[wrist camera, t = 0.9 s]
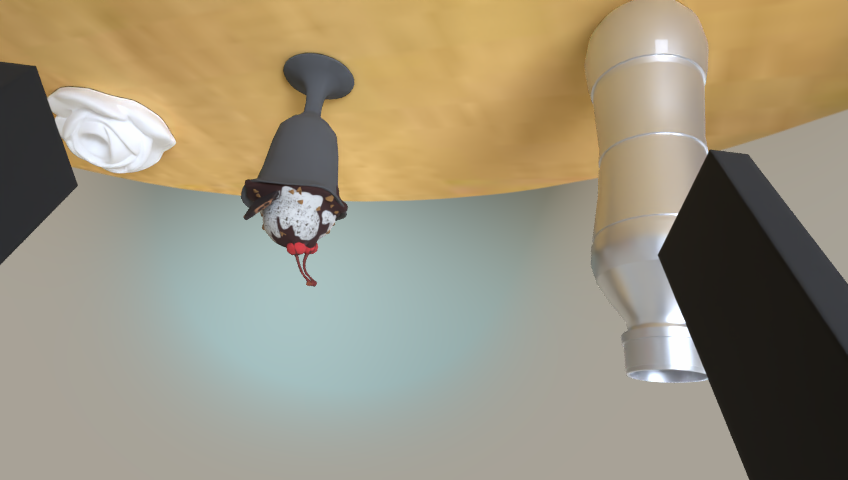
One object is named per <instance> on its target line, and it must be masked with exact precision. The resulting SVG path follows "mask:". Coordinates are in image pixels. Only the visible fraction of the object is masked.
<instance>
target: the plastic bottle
mask: <svg viewBox="0 0 848 480" xmlns="http://www.w3.org/2000/svg"><path fill="white" fill-rule="evenodd" d="M707 71H708V41H707V38H706V36H705V33H704V31H703V28H702V25H701V23H700V21H699V19H698V16H697V15H696V14H695V13H694V12H693V11H692V10H690V9H689V8H687V7H686V6H684V5H682V4H681V3H679V2H677V1H675V0H633V1H630V2H627V3H625V4H623V5H621V6H619V7H617V8H616V9H614V10H613V11H611V12H610V13H609V14H608V15H607V16H606V17H605V18H604V19H603V20H602V21H601V22H600V24H599V25H598V26H597V27H596V29H595V30H594V31H593V33H592V35H591V37H590V39H589V43H588V48H587V54H586V59H585V75H586V80H587V86H588V91H589V94H590V97H591V101H592V103H593V107H594V114H595V122H596V129H597V137H598V145H599V176H598V200H597V208H596V217H595V225H594V232H593V245H592V249H591V268H592V270H593V274H594V277H595V280H596V283H597V285H598V286H599V288H600V289H601V291H602V292H603V293H604V295H605V297H606V298H607V299H608V301H609V302H610V303H611V305H612V306H613V307H614V309H615V310H616V311H617V312H618V313H619V315H620V316H621V317H622V318H623V319H624V321H625V322H626V325H627V329H628V331H627V332H624V333H623V334H622V335H621V337H622V346H623V347H624V353H625V371H626V375H627V376H628V377H630V378H633V379H638V380H644V381H653V382H695V381H696V382H697V381H704V380H708V377H707V375H706V372H705V370H704V368H703V365H702V363H701V360H700V358H699V355H698V353H697V350H696V348H695V346H694V343H693V341H692V338H691V336H690V333H689V331H688V328H687V326H686V324H685V321H684V319H683V316H682V314H681V311H680V309H679V306H678V304H677V301H676V299H675V297H674V294H673V292H672V289H671V287H670V284H669V282H668V279H667V277H666V275H665V272H664V270H663V267H662V265H661V262H660V260H659V257H658V253H659V251H660V249H661V247H662V245H663V243H664V241H665V239H666V237H667V235H668V233H669V231H670V229H671V227H672V225H673V223H674V221H675V219H676V217H677V215H678V213H679V211H680V209H681V207H682V205H683V203H684V201H685V199H686V197H687V195H688V193H689V191H690V189H691V186H692V184H693V182H694V180H695V178H696V176H697V174H698V172H699V170H700V168H701V166H702V164H703V162H704V160H705V158H706V156H707V154H708V148H707V143H706V137H705V83H706V78H707Z"/></svg>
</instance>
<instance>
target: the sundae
mask: <svg viewBox="0 0 848 480" xmlns="http://www.w3.org/2000/svg"><path fill="white" fill-rule="evenodd" d="M283 71H284V75H285V77H286V79H287V81H288V82H289V83H290V85H291V86H292V87H293V88H294V89H296V90H298V91H299V92H301V93H303V94H305V95H306V104H305V109H304V112H303V113H301V114H299V115H294V116H292V117H291V118H289V119H287V120H285V121H284V122H282V123H281V124H280V126H279V128H278V130H277V132H276V134H275V136H274V138H273V140H272V143H271V146H270V148H269V151H268V154H267V157H266V159H265V162H264V165H263V167H262V169H261V171H260V173H259V176H258V178H257V179H252V180H249V179H248V180H246V181H245V185H244V187H243V189H242V192H241V199H242V201H243V203H244V204H245V205H246V206H247V207H249V209H248V211H247V212H246V214H245V215H244V219H245V220H248V219H249V218H251V217H253V216H254V215H255V214H256V213H258V212H260V213H261V216H262V217H263V226H262V229H263V230H265V231H266V233H267V234H268V235H269V236H270V238H271V239H272V240H273V241H274V242H276V243H277V244H279V245H281V246H283V247H286V248H287V251H288V252H289V253H290V254H291V255H295V257H296V260H297V264H298V267H299V269H300V272H301V274H302V275H303V277H304V278H305V279H306V281H307V283H306V285H308V286H316V284H317V282H316V281H314V280H313V279H312V278H311V277H310V276H309V274H308V273H307V272H306V268H305V263H306V259H307V257H308V255H309V254H313V253H315V252H316V251H317V249H318V245H317V240H318V239H319V238H322V237H323V236H325V235H326V234H329V233H330V229H331V228H332V226H334V225H335V223H334V222H335V221H337V220H340V219H343V218H345V217H346V215H347V213H346V211H347V208H348V206H347V204H346V203H345V202H343V201H342V200H341V199H340V196H339V188H338V146H337V137H336V134H335V133H334V131H333V130H332V129H331V127H330V126H329V124H328V123H327V122H326V121H325V120H323V119H322V118H321V117H320V116H321V110H322V105H323V102H324V100H325V99H338V98H342V97H344V96H346V95H347V94H349V93H350V92H351V90H352V89H353V86H354V79H353V75H352V74H351V72H350V71H349V70H348V69H347V67H346V66H344V65H343V64H342V63H340V62H339V61H337V60H335V59H333V58H331V57H328V56H325V55H322V54H315V53H304V54H299V55H295V56H293V57H291V58H290V59H289V60H288V61H286V63H285V65H284V69H283ZM303 253H305V256H304V259H303V269H304V272H305V274H306V275H307V276H308V277H309V278H310V279H311V281H310V280H309V279H308V278H307V277H306V276H305V275H304V273H303V271H302V268H301V266H300V262H299V257H298V255H300V254H303Z"/></svg>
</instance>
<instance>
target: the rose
mask: <svg viewBox="0 0 848 480" xmlns="http://www.w3.org/2000/svg"><path fill="white" fill-rule="evenodd" d="M47 99H48V102H49V105H50V108H51V111H52V112H53V113H55V114H56V115H57V116H56V118H55V122H56V125H57V128H58V131H59V133H60V136H61V138H62V139H63V140H64V141H65V142H66V144H67V146H68V148H69V149H70V150H71V152H72V153H73V154H75V155H76V156H78V157H79V158H81V159H84V160H86V161H88V162H89V163H91V164H93V165H96V166H99V167H102V168H104V169H105V170H107V171H110V172H113V173H131V172H137V171H141V170H144V169H146V168H148V167H150V166H152V165H154V164H156V163H157V162H158V161H159V160H160V158H161V157H162V154H163V152H164V151H166V150H168V149H170V148H172V147H173V146H174V145H175V144H176V140H175V139H174V137H173V135H172V134H171V132H170V130H169V129H168V127H167V126H166V124H165V122H164V121H163V120H162V119H161V118H160V117H159V116H158V115H157V114H155V113H154V112H152V111H151V110H149V109H148V108H146V107H144V106H143V105H141V104H139V103H137V102H135V101H133V100H129V99H125V98H119V97H115V96H111V95H107V94H104V93H101V92H98V91H95V90H91V89H88V88H78V87H63V88H59V89H58V90H56V91H55V92H53V93H52V94H51V95H50V96H48V97H47Z"/></svg>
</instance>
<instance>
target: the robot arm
mask: <svg viewBox="0 0 848 480" xmlns="http://www.w3.org/2000/svg"><path fill="white" fill-rule="evenodd" d="M77 186H78V185H77V182H76V179H75V176H74V173H73V170H72V167H71V165H70V162H69V159H68V156H67V153H66V150H65V148H64V145H63V142H62V139H61V136H60V133H59V131H58V128H57V125H56V122H55V119H54V116H53V114H52V111H51V108H50V105H49V102H48V99H47V96H46V94H45V91H44V88H43V85H42V82H41V79H40V77H39V74H38V71H37V68H36V66H30V65H22V64H14V63H6V62H0V264H1V263H3V261H4V260H5V259H6V258H7V257H8V256H9V255H10V254H11V253H12V252H13V251H14V250H15V249H16V248H17V247H18V246H19V245H20V244H21V243H22V242H23V241H24V240H25V239H26V238H27V237H28V236H29V235H30V234H31V233H32V232H33V231H34V230H35V229H36V228H37V227H38V226H39V225H40V223H42V222H43V220H45V219H46V218H47V217H48V216H49V215H50V213H52V211H53V210H54V209H55V208H56V207H57V206H58V205H59V204H60V203H61V202H62V201H63V200H64V199H65V198H66V197H67V196H68V195H69V194H70V193H71V192H72V191H73V190H74V189H75V188H76V187H77ZM658 257H659V260H660V262H661V265H662V267H663V270H664V272H665V275H666V277H667V279H668V282H669V284H670V287H671V289H672V292H673V294H674V297H675V299H676V301H677V304H678V306H679V309H680V311H681V314H682V316H683V319H684V321H685V324H686V326H687V328H688V331H689V333H690V336H691V338H692V341H693V343H694V346H695V348H696V350H697V353H698V355H699V358H700V360H701V363H702V365H703V368H704V370H705V372H706V375H707V377H708V380H709V382H710V384H711V387H712V389H713V392H714V395H715V397H716V399H717V402H718V404H719V407H720V409H721V412H722V414H723V417H724V419H725V421H726V424H727V426H728V429H729V431H730V434H731V436H732V439H733V441H734V443H735V446H736V448H737V451H738V453H739V456H740V458H741V461H742V463H743V465H744V468H745V470H746V473H747V475H748V478H749V480H848V284H847V283H846V281H845V280H844V279H843V277H842V276H841V275H840V273H839V272H838V271H837V269H836V268H835V267H834V266H833V264H832V263H831V262H830V260H829V259H828V258H827V257H826V255H825V254H824V253H823V251H822V250H821V249H820V247H819V246H818V245H817V243H816V242H815V241H814V239H813V238H812V237H811V236H810V234H809V233H808V232H807V230H806V229H805V228H804V227H803V225H802V224H801V223H800V221H799V220H798V219H797V217H796V216H795V215H794V213H793V212H792V211H791V210H790V208H789V207H788V206H787V204H786V203H785V202H784V200H783V199H782V198H781V197H780V195H779V194H778V193H777V191H776V190H775V189H774V187H773V186H772V185H771V184H770V182H769V181H768V180H767V178H766V177H765V176H764V175H763V173H762V172H761V171H760V170H759V168H758V167H757V165H756V164H755V163H754V161H753V160H752V159H751V158H750V156H749V155H748V154H741V153H733V152H725V151H717V150H709V152H708V154H707V156H706V158H705V160H704V162H703V164H702V166H701V168H700V170H699V172H698V174H697V176H696V178H695V180H694V182H693V184H692V186H691V189H690V191H689V193H688V195H687V197H686V199H685V201H684V203H683V205H682V207H681V209H680V211H679V213H678V215H677V217H676V219H675V221H674V223H673V225H672V227H671V229H670V231H669V233H668V235H667V237H666V239H665V241H664V243H663V245H662V247H661V249H660V251H659V253H658Z"/></svg>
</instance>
